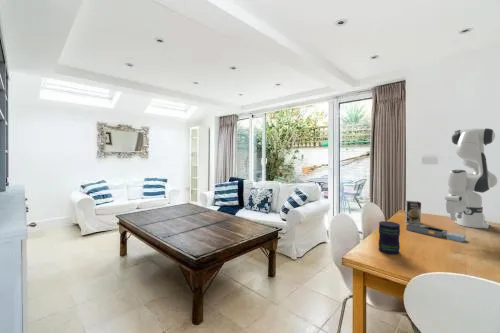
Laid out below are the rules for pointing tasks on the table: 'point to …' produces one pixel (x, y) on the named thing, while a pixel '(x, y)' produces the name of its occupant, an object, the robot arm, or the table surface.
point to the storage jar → (389, 237)
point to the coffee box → (413, 212)
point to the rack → (426, 230)
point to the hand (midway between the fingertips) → (456, 219)
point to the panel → (456, 237)
